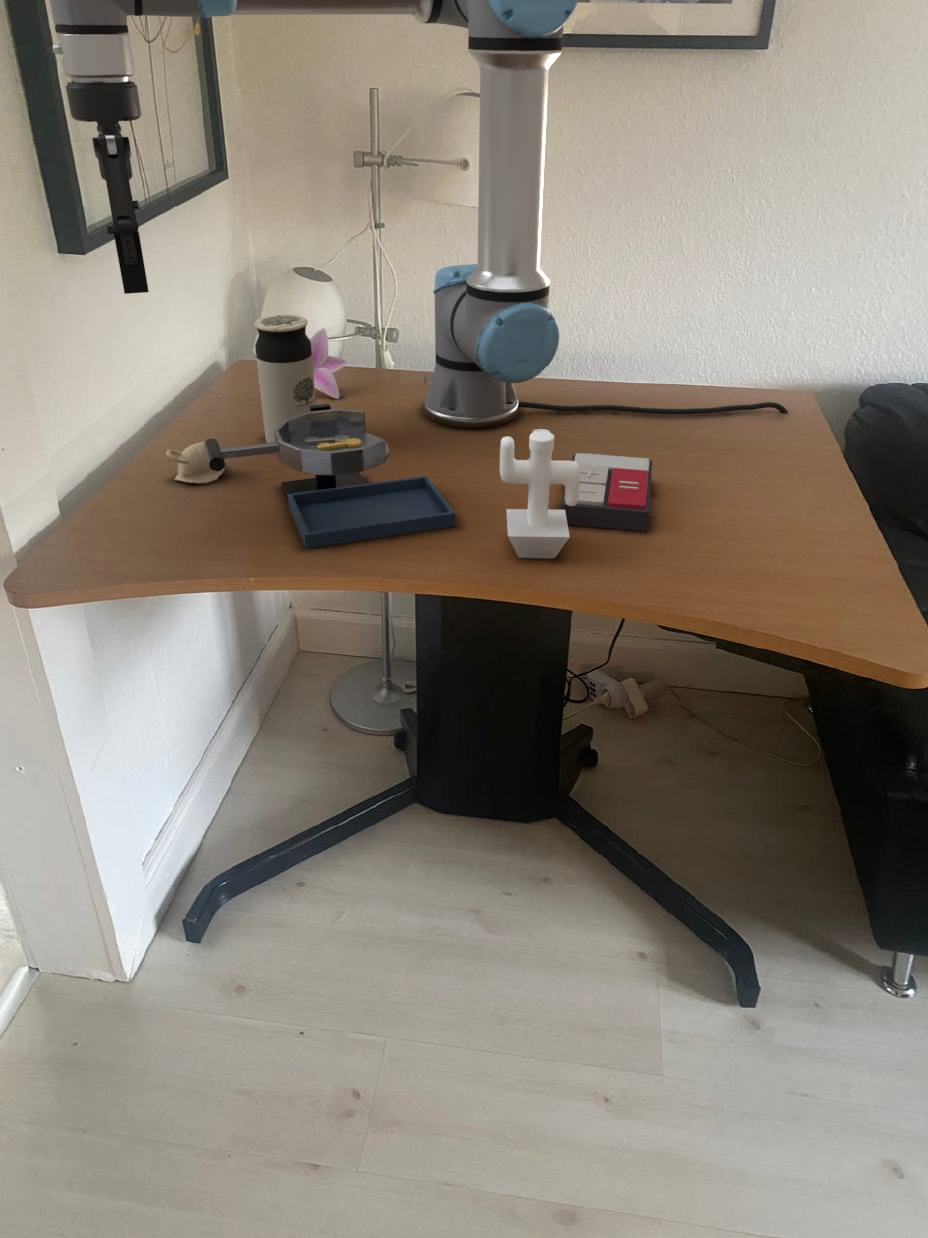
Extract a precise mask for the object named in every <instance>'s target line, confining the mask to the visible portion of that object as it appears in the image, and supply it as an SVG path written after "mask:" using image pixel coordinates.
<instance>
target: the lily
mask: <svg viewBox="0 0 928 1238" xmlns="http://www.w3.org/2000/svg"><path fill="white" fill-rule="evenodd" d="M309 340H310V342H311V350H312V362H313V375H314V387H315V390H318V391H320V392H322V393H324V394H325V395H327V396H329V397H331V398H334V399H336V400H337V399H340V391H339V388H338V387H339V386H338V384H337V382H336V379H335V376H334V373H335V372H337V371H339V370H341V369H342V368H344V367H346V365H347V364H348V361H347V360H345V359H342V358H340V357H336V356H334V355H333V356H332V355H329V339H328V332H327V330H326V328H323V327H322V328H320V329H319V330H318V331H316V332H315V333H314V335H312V336H311V338H310V339H309Z"/></svg>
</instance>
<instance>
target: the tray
mask: <svg viewBox="0 0 928 1238" xmlns="http://www.w3.org/2000/svg"><path fill="white" fill-rule="evenodd" d="M287 495H288V502H287V504H288V509H289V512H290V513H291V515H292V516H291V517H292V518H293V520H294V523H295V525H296V527H297V530H298V532H299V535H300V537H301V539H302V542H303V544H304V547H305V549H313V548H314V549H315V548H320V547H326V546H327V547H328V546H332V545H340V544H347V543H352V542H353V543H354V542H360V541H366V540H373V539H379V538H386V537H393V536H401V535H406V534H407V535H408V534H413V533H421V532H426V531H432V530H441V529H447V528H455V527H456V512H455V510H454V509H453V508H452V507H451V505H450V504H449V503H448V501H447V500H446V499H445V498H444V496H443V495H442V493H441V492H440V491H439V489H438V488H437V486H436V485H435V484H434V483H433V481H432V480H431V479H430V477H429V476H428V475H422V476H414V477H407V478H398V479H391V480H383V481H375V482H367V483H366V484H360V485H353V486H345V487H338V488H330V489H322V490H315V491H307V492H300V493H292V494H287Z"/></svg>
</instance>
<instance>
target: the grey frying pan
mask: <svg viewBox="0 0 928 1238" xmlns="http://www.w3.org/2000/svg"><path fill="white" fill-rule="evenodd" d="M365 412H366V411H365V410H359V409H358V410H356V409H343V408H331V409H330V410H321V411H312V412H306V413H303V414H300V415H298V416H295V417H292V418H289V419H286V420H284V421H283V422H282V423H281V424H280V425H279V426H278V427H277V428H276V429H275V430H274V435H275V442H272V443H267V442H264V443H257V444H247V445H238V446H231V447H222V448H221V446H220V443H219V441H218V440H217V439H215V438H208V439H206V440H205V441H204V442H205V443H204V449H205V452H206V456H207V459H208V463H209V466H210V468H211V469H212V470H213V471H221V470H222V469H225V467H226V461H225V460H226V459H234V458H242V457H250V456H251V457H252V456H260V455H268V454H276V455H277V457H278V459H279V461H280V464H282V465H284V466H286V467H288V468H290V469H292V470H294V471H298V472H300V473H304V474H308V475H314V476H315V475H346V474H353V473H358V472H360V473H362V472H366V471H369V470H371V469H374V468H376V467H378V466H380V465H381V464H384V463H386V462H387V459H388V457H389V455H390V447H389V445H388V443H387V442H386V440H385V439H383V438H381V437H379V436H377V435H374V434H371V433H367V432H366V413H365ZM336 435H348V436H349V437H350V439H351V438H356V439H360V440H361V445H360V446H358V447H348V446H346V447H339V448H333V449H326V450H318V449H317V445H319V444H321V443H312V444H305V439H308V437H317V438H325V437H335V436H336ZM327 443H329V444H331V443H336V442H327Z"/></svg>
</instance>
